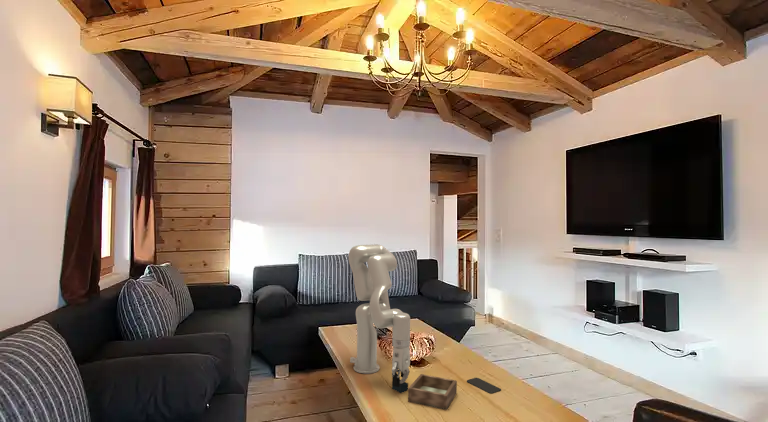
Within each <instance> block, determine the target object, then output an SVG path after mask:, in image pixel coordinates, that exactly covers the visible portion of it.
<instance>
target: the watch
mask: <svg viewBox="0 0 768 422" xmlns="http://www.w3.org/2000/svg"><path fill="white" fill-rule="evenodd" d="M410 371H411V370H410V368H409V367H407V369H406V370H405V371H404V372H403V374H404V375H403V377H401V378H400V386H399V387H396V386H392V385H391V389H392V390H394V392H395V391H396V393H400V394H403V393H405V392H408V388H409V383H408V382H406V381H407V380H408V378H407V377H409V375H410ZM404 376H405V377H404Z"/></svg>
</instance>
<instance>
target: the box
mask: <svg viewBox="0 0 768 422" xmlns="http://www.w3.org/2000/svg"><path fill="white" fill-rule="evenodd" d="M457 385H458V380H455V379H449V378H444V377H439V376H433V375H428V374H423V373H421V374H419V375H418V377H417V378H416V379H415V380H414V381H413V382H412V383H411V385H410V386H408V391H407V402H408V403H413V404H417V405H421V406H426V407H431V408H435V409H439V410H444V411H447V410H448V408H449V407H450V406H451V404H452V402H453V401H454V399H455V397H456V395H457V392H458V390H457V389H458V388H457V387H458V386H457Z"/></svg>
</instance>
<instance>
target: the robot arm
mask: <svg viewBox="0 0 768 422" xmlns="http://www.w3.org/2000/svg"><path fill="white" fill-rule="evenodd" d="M348 252H349V253H348V263H349V266H350V269H351V272H352V276H353V282H354V283H353V284H354V289H355V290H354V291H355V295H356V299H357V300H359V301H361V302H363V301H364V302H365V301H369V303H366V302H365V303H362V304H360V305H359V306H357V307H356V309H355V319H356V332H357V334H356V335H357V337H356V339H357V340H356V357H354V356H350V358H349V363H351V364H352V363H353V364H354V365H353V370H354V371H355V372H357V373H360V374H365V375H366V374H369V375H370V374H374V373H377V372H378V371H379V370H380V365H379V364H378V363H377V358H378V357H377V355H378V353H377V350H378V348H377V347H378V346H377V345H378V331H377V329H385V328H390V327H391V328H392V338H391V340H392V343H391V344H392V345H391V346H392V347H393V348H392V359H391V360H392V361H391V364H392V366H391V367H392V368H391V379H392V381H391V387H392V386H396V387H399V386H400V380H401V378H402V377H403V375H404V374H403V372H404V371H405V370H406V369H407V367H408V368H409V367H410V364H411V350H410V349H411V348H410V346H411V343H410V342H411V341H410V340H411V316H410V314H409V313H407V312H404V311H402V310H401V309H398V308H391V306H390V299H389V292H388V291H389V290H390V289H391V288H392V285H393V284H392V281H391V277H390V273H389V272H393V271H395V270H396V269H397V267H398V262H397V261H398V260H397V259H396V257H395V255H394V253H392V252H391V251H390V250H388V249H387V248H386V247H385V246H383V245H382V244H375V243H374V244H360V245H359V244H358V245H355V246H353V247H351V248H350V250H349V251H348ZM365 263H367V264H365ZM375 327H376V328H377V329H376V328H375ZM404 377H405V376H404ZM408 377H409V376H408ZM408 377H407V379H408Z"/></svg>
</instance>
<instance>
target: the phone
mask: <svg viewBox="0 0 768 422" xmlns="http://www.w3.org/2000/svg"><path fill="white" fill-rule="evenodd" d="M466 383H467V384H469V385H471V386H473V387H476V388H478V389H479V390H481V391H484V392H486V393H487V394H490V395H492V394H496V393H498V392H502V389H501V388H500V387H498V386H496V385H494V384H492V383H489V382H488V381H486V380H484V379H482V378H479V377H473V378H470V379H467V380H466Z"/></svg>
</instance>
